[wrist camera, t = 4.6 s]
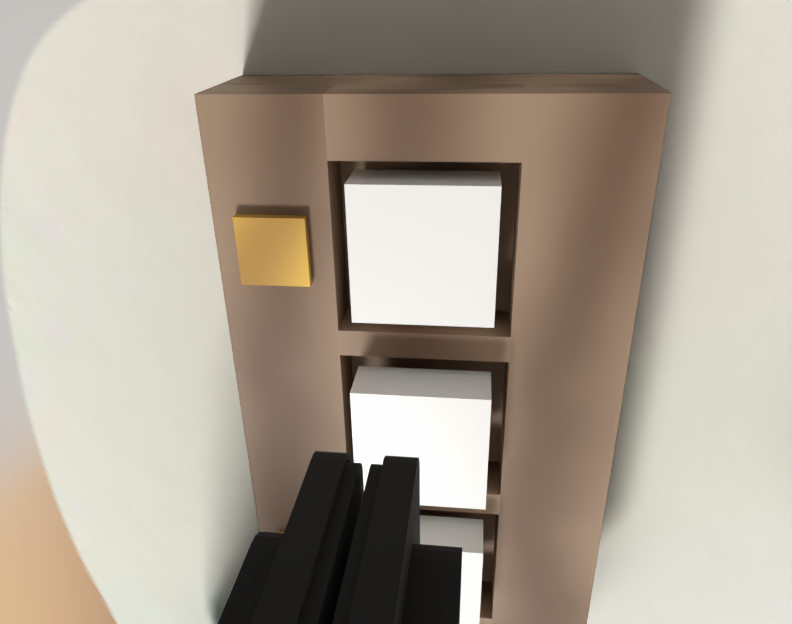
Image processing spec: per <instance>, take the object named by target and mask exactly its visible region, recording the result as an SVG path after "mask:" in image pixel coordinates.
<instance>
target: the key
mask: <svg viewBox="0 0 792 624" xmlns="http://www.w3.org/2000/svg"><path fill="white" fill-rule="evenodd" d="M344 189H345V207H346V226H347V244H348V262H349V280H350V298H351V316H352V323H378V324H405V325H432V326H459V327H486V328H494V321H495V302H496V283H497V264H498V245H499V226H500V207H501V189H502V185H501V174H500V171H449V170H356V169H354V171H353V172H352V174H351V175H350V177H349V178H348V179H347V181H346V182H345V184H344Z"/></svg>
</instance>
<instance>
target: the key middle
mask: <svg viewBox="0 0 792 624" xmlns="http://www.w3.org/2000/svg"><path fill="white" fill-rule="evenodd" d="M350 405H351V421H352V438H353V455H354V463H361V464H362V467H363V483H364V489H365V485H366V481H367V477H368V473H369V469H370V465H371V464H383V460H384V457H385V455H387V456H402V457H418V458H419V462H420V505H424V506H439V507H454V508H469V509H483V510H486V492H487V474H488V455H489V437H490V418H491V372H484V371H462V370H439V369H417V368H395V367H372V366H358V369H357V372H356V375H355V379H354V382H353V385H352V388H351V391H350Z"/></svg>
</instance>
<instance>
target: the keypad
mask: <svg viewBox="0 0 792 624" xmlns="http://www.w3.org/2000/svg"><path fill="white" fill-rule="evenodd" d="M194 96H195V102H196V109H197V116H198V122H199V129H200V136H201V143H202V149H203V156H204V163H205V169H206V176H207V183H208V190H209V196H210V203H211V210H212V217H213V223H214V230H215V237H216V243H217V250H218V257H219V264H220V270H221V277H222V284H223V290H224V297H225V304H226V311H227V317H228V324H229V331H230V338H231V344H232V351H233V358H234V364H235V371H236V378H237V385H238V391H239V398H240V405H241V412H242V418H243V425H244V432H245V438H246V445H247V452H248V459H249V465H250V472H251V479H252V485H253V492H254V499H255V506H256V512H257V519H258V526H259V532H275V533H284V531H285V529H286V526H287V523H288V521H289V518H290V515H291V512H292V510H293V507H294V504H295V502H296V499H297V496H298V493H299V491H300V488H301V485H302V482H303V480H304V477H305V474H306V472H307V469H308V466H309V463H310V461H311V458H312V456H313V453H314V452H315V451H325V452H340V453H349V454H350V457H351V462H353V463H354V455H353V438H352V421H351V405H350V391H351V388H352V385H353V382H354V379H355V375H356V372H357V369H358V366H372V367H395V368H417V369H439V370H462V371H484V372H491V418H490V437H489V455H488V474H487V492H486V510H483V509H469V508H454V507H439V506H424V505H420V515H426V516H440V517H455V518H469V519H483V566H482V585H481V603H480V622H479V624H587V618H588V612H589V606H590V599H591V593H592V587H593V581H594V574H595V568H596V562H597V556H598V549H599V543H600V537H601V530H602V524H603V518H604V512H605V505H606V499H607V493H608V487H609V480H610V474H611V468H612V461H613V455H614V449H615V443H616V436H617V430H618V424H619V418H620V411H621V405H622V399H623V392H624V386H625V380H626V374H627V367H628V361H629V355H630V349H631V342H632V336H633V330H634V323H635V317H636V311H637V305H638V298H639V292H640V286H641V280H642V273H643V267H644V261H645V254H646V248H647V242H648V236H649V229H650V223H651V217H652V211H653V204H654V198H655V192H656V185H657V179H658V173H659V167H660V160H661V154H662V148H663V142H664V135H665V129H666V123H667V116H668V110H669V104H670V98H671V93H670V92H668V91H667V90H665V89H663V88H662V87H660V86H658V85H657V84H655V83H653V82H652V81H650V80H648V79H647V78H645V77H643V76H642V75H640V74H638V73H600V74H417V75H242V76H239V77H237V78H234V79H232V80H229V81H227V82H224V83H222V84H219V85H217V86H214V87H212V88H209V89H207V90H204V91H201V92H199V93H196V94H194ZM354 169H356V170H449V171H500V174H501V185H502V189H501V207H500V226H499V245H498V264H497V283H496V302H495V321H494V328H486V327H459V326H432V325H405V324H378V323H352V316H351V298H350V280H349V262H348V244H347V226H346V207H345V189H344V184H345V182H346V181H347V179H348V178H349V177H350V175H351V174H352V172H353V171H354Z"/></svg>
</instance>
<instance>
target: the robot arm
mask: <svg viewBox="0 0 792 624" xmlns="http://www.w3.org/2000/svg"><path fill="white" fill-rule="evenodd" d="M461 573H462V547H450V546H437V545H425V544H420V462H419V458H418V457H402V456H387V455H385V457H384V460H383V464H371V465H370V469H369V473H368V477H367V481H366V485H365V489H364V483H363V467H362V464H361V463H353V462H351V457H350V454H349V453H340V452H325V451H315V452H314V453H313V456H312V458H311V461H310V463H309V466H308V469H307V472H306V474H305V477H304V480H303V482H302V485H301V488H300V491H299V493H298V496H297V499H296V502H295V504H294V507H293V510H292V512H291V515H290V518H289V521H288V523H287V526H286V529H285V531H284V533H275V532H259V533H258V534H257V535H256V536H255V538H254V540H253V542H252V543H251V546H250V548H249V551H248V553H247V555H246V558H245V560H244V563H243V565H242V567H241V570H240V572H239V574H238V577H237V579H236V582H235V584H234V586H233V589H232V591H231V594H230V596H229V598H228V601H227V603H226V606H225V608H224V610H223V613H222V615H221V618H220V620H219V622H218V624H460V600H461Z"/></svg>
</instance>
